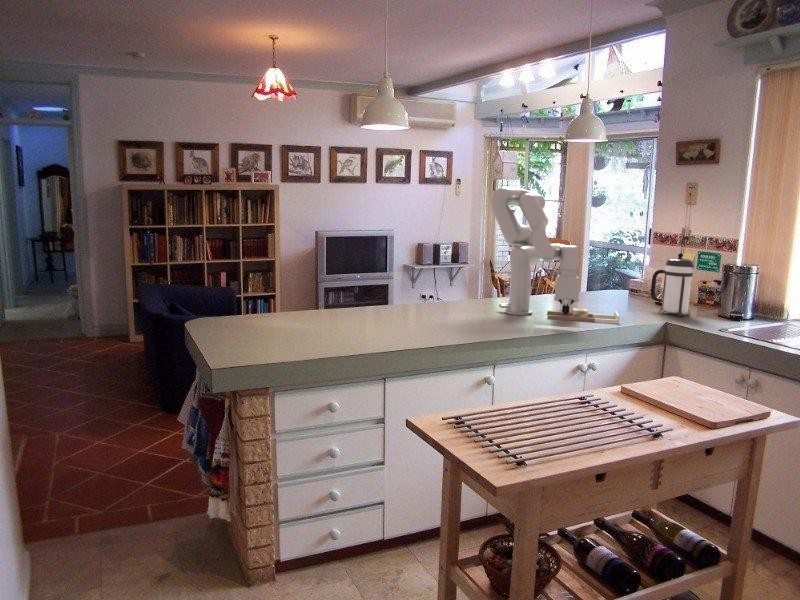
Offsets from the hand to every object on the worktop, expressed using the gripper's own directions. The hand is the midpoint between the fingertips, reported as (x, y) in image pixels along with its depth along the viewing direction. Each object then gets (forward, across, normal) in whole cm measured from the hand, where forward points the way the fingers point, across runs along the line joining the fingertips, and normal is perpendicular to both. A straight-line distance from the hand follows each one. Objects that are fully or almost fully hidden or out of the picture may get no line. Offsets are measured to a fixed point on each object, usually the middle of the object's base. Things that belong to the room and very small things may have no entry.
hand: (565, 314), depth 284 cm
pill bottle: (+3, +2, +20) cm, 21 cm away
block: (+2, +6, 0) cm, 6 cm away
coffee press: (+4, +52, +39) cm, 65 cm away
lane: (+3, +7, 0) cm, 8 cm away
